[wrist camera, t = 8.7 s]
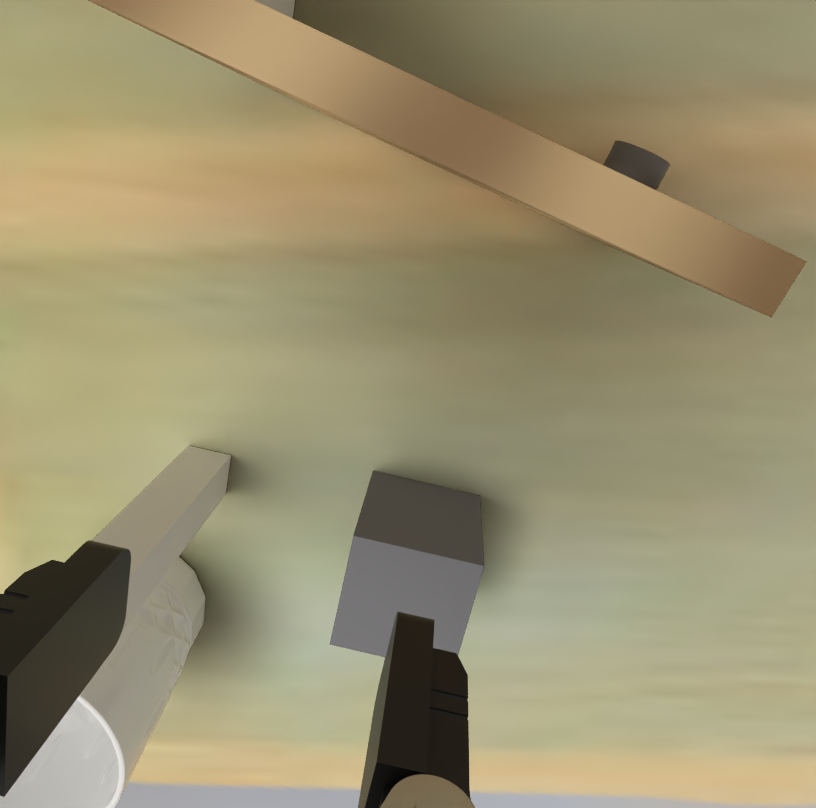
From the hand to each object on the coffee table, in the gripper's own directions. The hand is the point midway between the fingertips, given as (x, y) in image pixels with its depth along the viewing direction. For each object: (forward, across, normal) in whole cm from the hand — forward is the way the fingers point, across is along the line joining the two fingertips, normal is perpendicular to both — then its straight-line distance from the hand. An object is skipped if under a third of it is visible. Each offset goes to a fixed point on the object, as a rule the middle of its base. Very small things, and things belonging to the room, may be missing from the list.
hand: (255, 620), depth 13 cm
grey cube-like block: (+18, -4, +7) cm, 19 cm away
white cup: (+18, +9, +14) cm, 24 cm away
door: (+17, -1, -10) cm, 20 cm away
